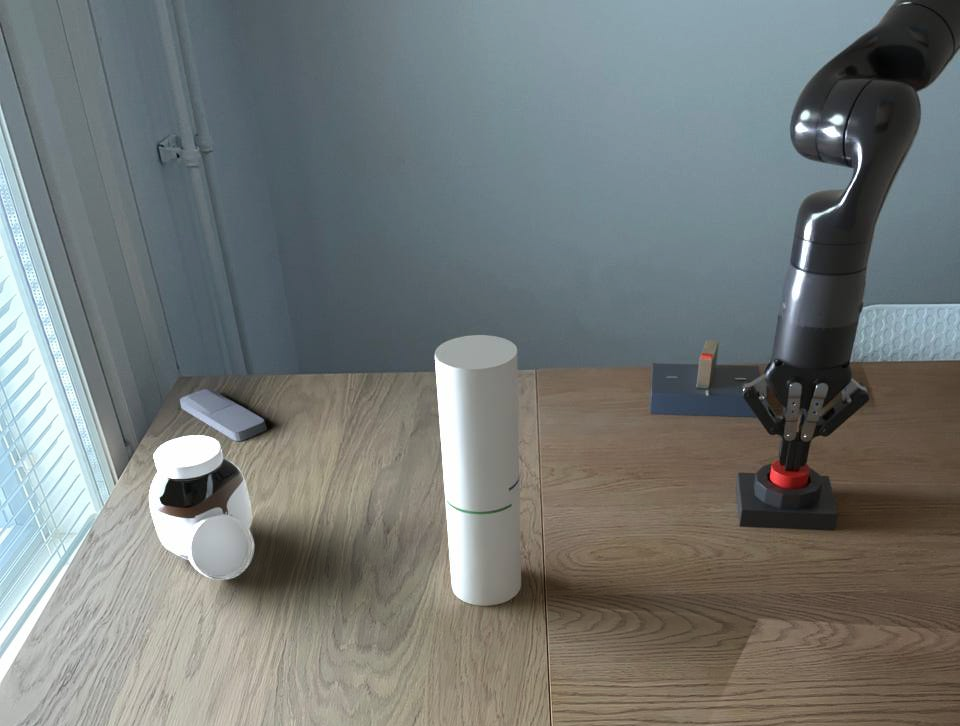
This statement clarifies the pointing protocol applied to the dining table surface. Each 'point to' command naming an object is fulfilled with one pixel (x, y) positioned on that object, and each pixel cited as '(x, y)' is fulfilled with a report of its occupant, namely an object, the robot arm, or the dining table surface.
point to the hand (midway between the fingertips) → (790, 467)
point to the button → (789, 476)
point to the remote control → (223, 414)
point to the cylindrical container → (481, 465)
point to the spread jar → (202, 507)
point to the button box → (785, 502)
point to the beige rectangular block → (707, 364)
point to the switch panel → (700, 390)
